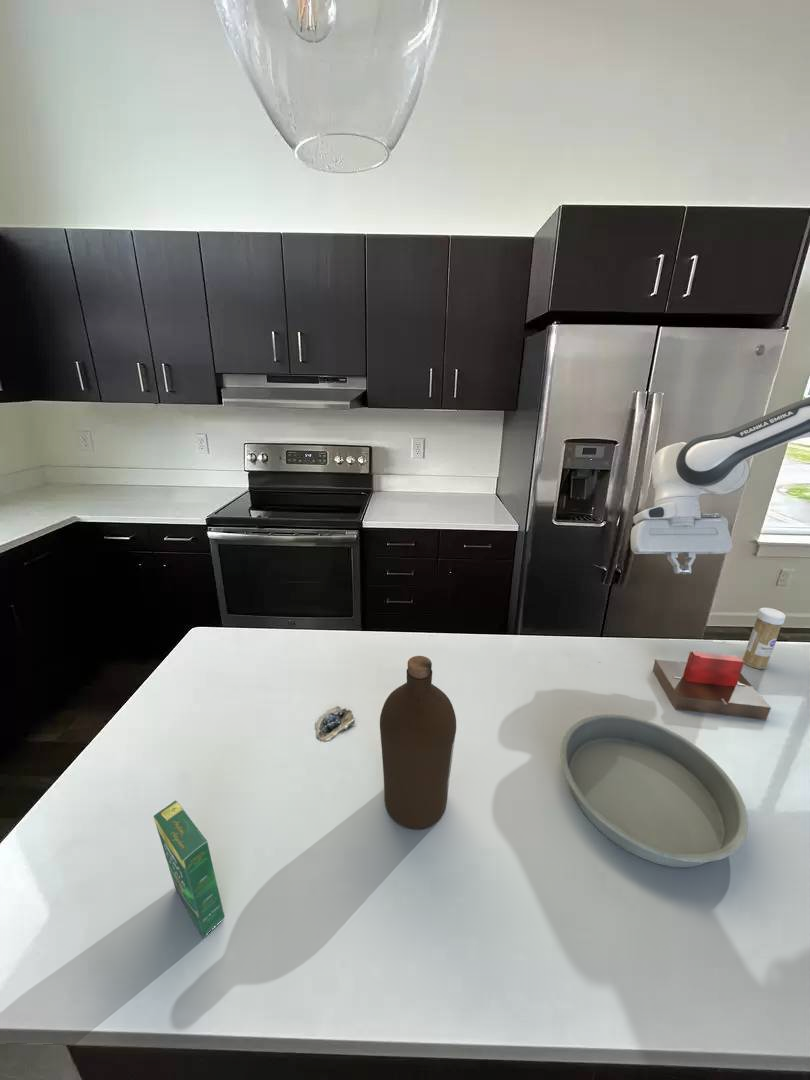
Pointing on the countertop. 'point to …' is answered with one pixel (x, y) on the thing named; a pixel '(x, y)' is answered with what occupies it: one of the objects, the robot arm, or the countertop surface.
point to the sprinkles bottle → (763, 637)
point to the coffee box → (190, 866)
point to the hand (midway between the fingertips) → (682, 573)
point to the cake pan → (653, 791)
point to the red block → (713, 669)
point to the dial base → (709, 694)
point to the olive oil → (417, 748)
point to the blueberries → (333, 723)
